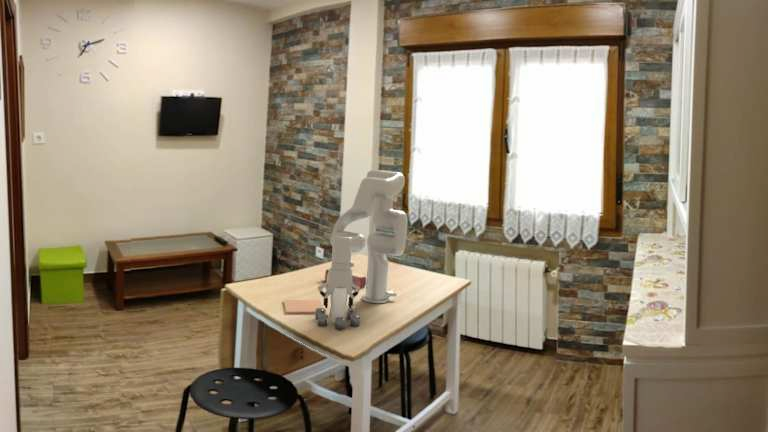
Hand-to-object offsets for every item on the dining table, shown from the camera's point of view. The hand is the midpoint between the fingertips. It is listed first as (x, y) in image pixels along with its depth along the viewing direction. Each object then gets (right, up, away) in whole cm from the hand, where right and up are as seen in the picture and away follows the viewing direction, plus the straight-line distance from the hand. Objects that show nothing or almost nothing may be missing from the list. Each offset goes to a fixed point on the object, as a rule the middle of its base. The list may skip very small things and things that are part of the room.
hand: (338, 307), depth 242 cm
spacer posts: (0, -6, +1) cm, 6 cm away
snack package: (-1, +3, +57) cm, 58 cm away
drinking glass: (0, -6, +1) cm, 6 cm away
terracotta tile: (-16, -3, +16) cm, 23 cm away
